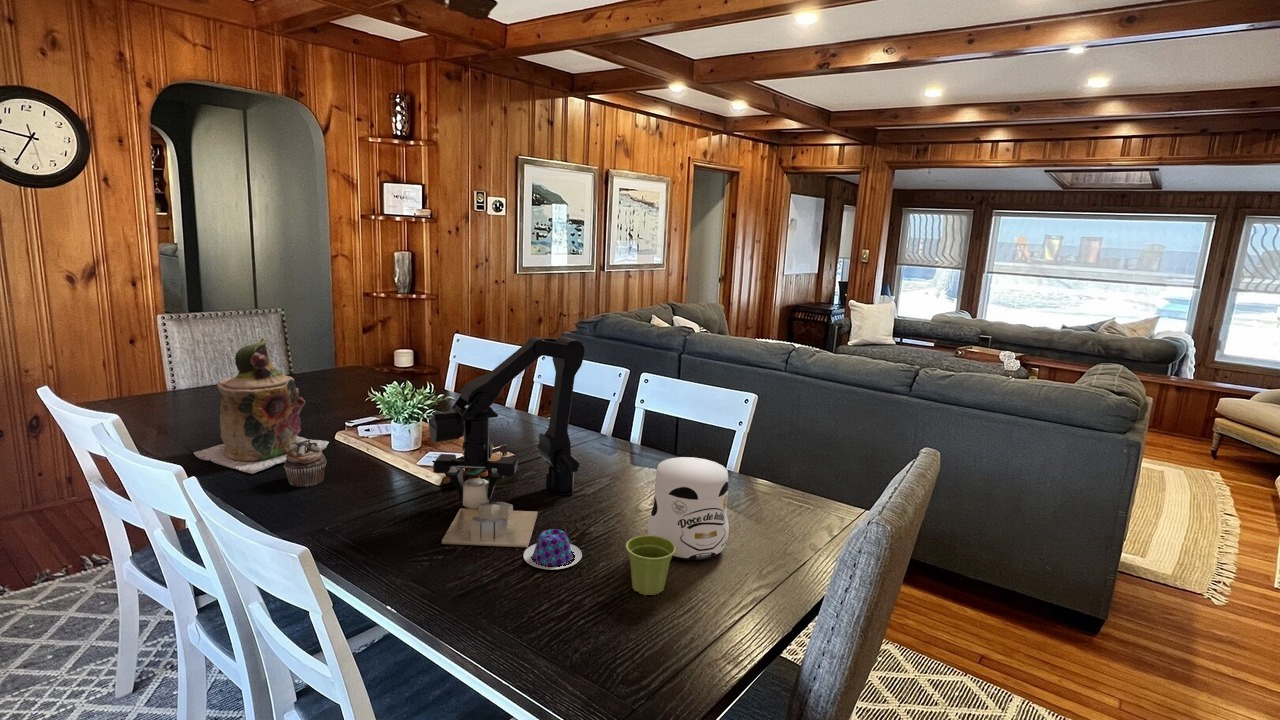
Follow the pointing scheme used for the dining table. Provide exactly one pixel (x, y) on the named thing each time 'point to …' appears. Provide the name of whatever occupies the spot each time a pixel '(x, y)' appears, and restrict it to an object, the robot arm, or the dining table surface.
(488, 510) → the wooden board
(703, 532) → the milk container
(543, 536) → the pudding
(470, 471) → the binoculars
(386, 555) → the dining table surface
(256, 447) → the cookie jar
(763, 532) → the dining table surface
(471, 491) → the cap
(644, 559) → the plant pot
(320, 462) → the cupcake
